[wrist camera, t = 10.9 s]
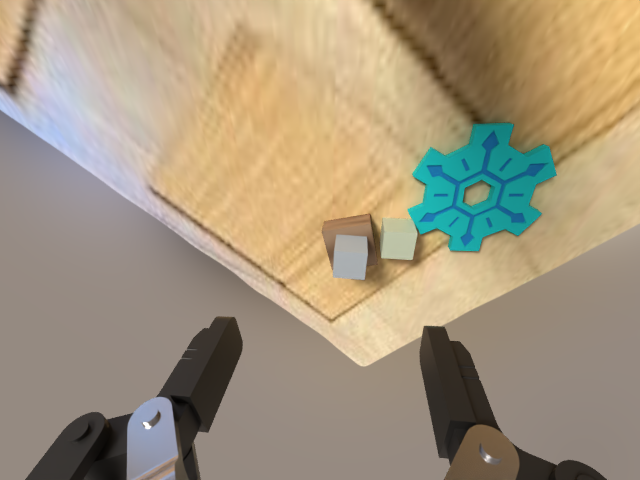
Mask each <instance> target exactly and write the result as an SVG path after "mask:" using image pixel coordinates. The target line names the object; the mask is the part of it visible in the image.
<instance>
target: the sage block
mask: <svg viewBox="0 0 640 480" xmlns="http://www.w3.org/2000/svg"><path fill="white" fill-rule="evenodd" d="M417 234H418V233H417V230H416V227H415V224H414V222H413V220H412V219H403V218H382V226H381V234H380V252H381V258H387V259H403V260H413V255H414V250H415V244H416V239H417Z"/></svg>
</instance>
